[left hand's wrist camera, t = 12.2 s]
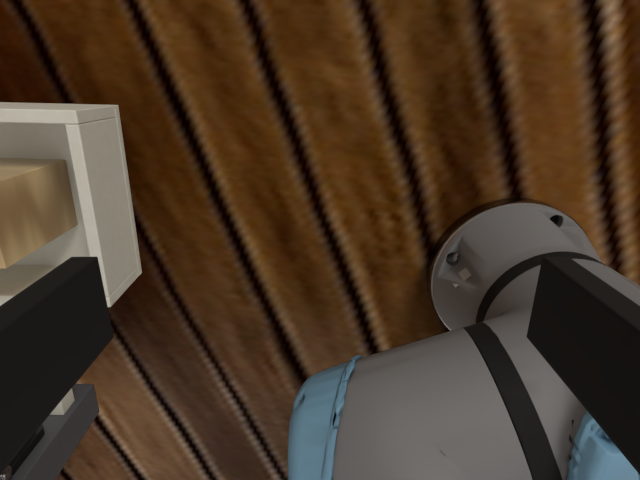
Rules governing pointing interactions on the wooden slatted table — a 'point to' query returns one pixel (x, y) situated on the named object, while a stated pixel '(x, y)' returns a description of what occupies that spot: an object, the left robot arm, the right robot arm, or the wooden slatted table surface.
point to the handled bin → (74, 237)
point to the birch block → (33, 206)
